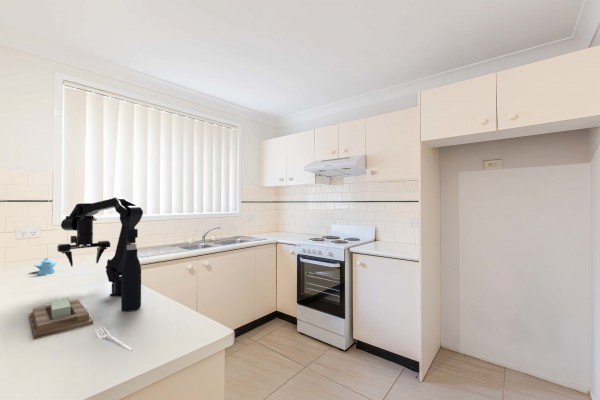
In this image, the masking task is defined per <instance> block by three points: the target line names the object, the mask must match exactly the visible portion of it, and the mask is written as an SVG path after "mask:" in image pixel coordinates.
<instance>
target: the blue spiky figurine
mask: <svg viewBox="0 0 600 400" xmlns="http://www.w3.org/2000/svg"><path fill="white" fill-rule="evenodd" d="M57 264H58V262H56V261H55V262H54V261H52V259H49V258H48V257H46V258H44V259H43V260H42V261H41V263H36V264H33V266H34V267H36V268H37V269H38V272H37V273H38V276H47V275H46V274H50V275H53V274H52V273H54V274H55V269H54V267H55V266H56V265H57Z"/></svg>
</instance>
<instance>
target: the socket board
mask: <svg viewBox="0 0 600 400" xmlns="http://www.w3.org/2000/svg"><path fill="white" fill-rule="evenodd" d="M68 301H69V303H70V306H71V315H69V316H65V317H61V318H56V319H51V304H48V305H41V306H38V307H33V308H32V312H29V313H28V314H29V320H30V326H31V329H32V335H33V339H39V338H43V337H47V336H51V335H55V334H60V333H62V332H66V331H70V330H75V329H79V328H84V327H86V326H90V325H94V320H93V319H92V317H91V315H90V313H89V311H88V310H87V309H86V308H85V306H84V305H83V304H82V302H81V301H80V299H73V300H68Z"/></svg>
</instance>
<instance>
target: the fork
mask: <svg viewBox="0 0 600 400" xmlns="http://www.w3.org/2000/svg"><path fill="white" fill-rule="evenodd" d="M94 332H95V336H96V337H97V338H98V337H102V338H99V339H101V340H103V339H108V340H110V341H111V342H112V343H114V344H116V345H118V346H119V347H122V348H124V349H126V350H128V351H129V352H131V351H132V352H133V350H134V349H133V348H131V347H130V346H128V345H127V344H125V343H124V342H122V341H121V340H120V339H117V338H116V337H114V336H113V334H112V333H110V332H109V331H108V330H107V329H106V327H105V326H104V325H102V327H101V326H99V327H96V328H94ZM103 334H104V335H103ZM103 336H105V337H103Z"/></svg>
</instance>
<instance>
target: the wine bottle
mask: <svg viewBox="0 0 600 400" xmlns="http://www.w3.org/2000/svg"><path fill="white" fill-rule="evenodd" d="M138 230H139V229H138V228H134V229H126V238H128V244H129V245H127V250H126V258H125V260H124V263H123V267H122V273H121V275H120V276H121V297H120V298H121V300H120V304H121V305H120V307H121V308H120V309H121V312H123V313H124V312H132V311H133V312H134V311H137V310H139V309H141V308H142V267H141V263H140V259H139V257H138V249H137V246H138V245H137V243H136V241H137V240H136V238H138ZM140 307H141V308H140Z"/></svg>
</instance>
